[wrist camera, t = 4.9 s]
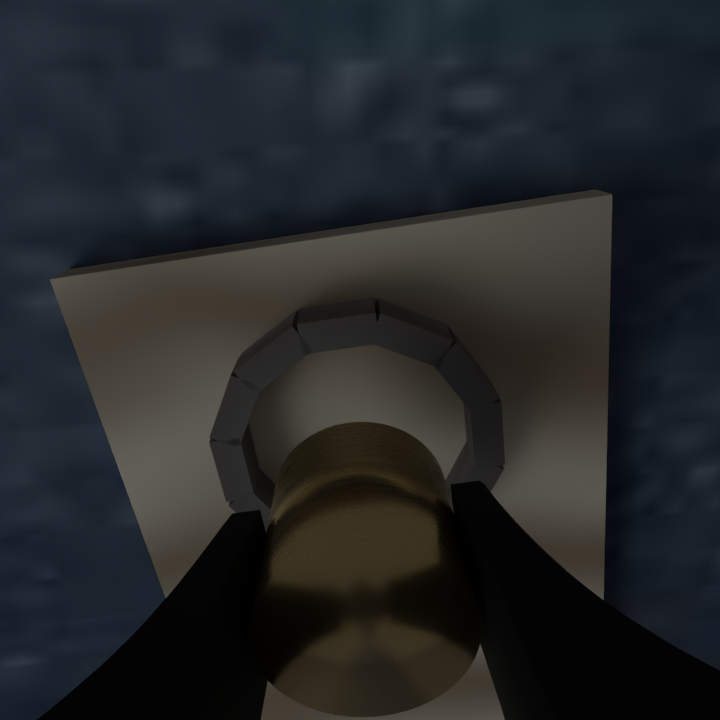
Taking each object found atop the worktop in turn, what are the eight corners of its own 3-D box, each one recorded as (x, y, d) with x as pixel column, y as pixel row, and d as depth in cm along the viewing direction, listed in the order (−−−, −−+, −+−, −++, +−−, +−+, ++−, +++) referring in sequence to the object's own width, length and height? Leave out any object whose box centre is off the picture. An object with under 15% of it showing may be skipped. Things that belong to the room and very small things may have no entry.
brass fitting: (437, 410, 13) (473, 530, 9) (452, 552, 14) (488, 703, 11) (258, 435, 13) (224, 562, 9) (292, 572, 15) (274, 728, 11)
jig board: (590, 715, 23) (613, 774, 21) (237, 756, 23) (227, 817, 21) (595, 189, 15) (634, 201, 13) (67, 269, 16) (25, 293, 14)
